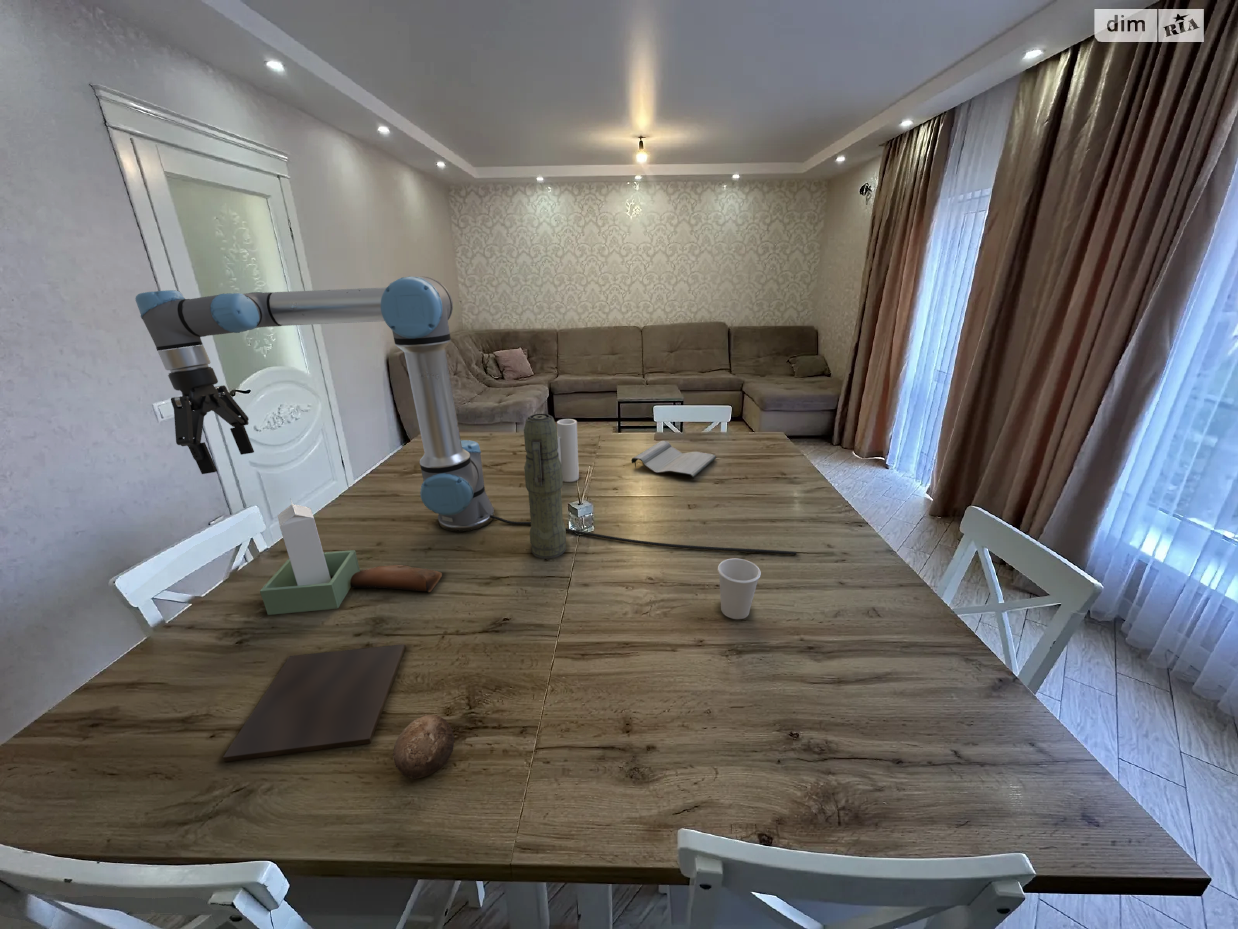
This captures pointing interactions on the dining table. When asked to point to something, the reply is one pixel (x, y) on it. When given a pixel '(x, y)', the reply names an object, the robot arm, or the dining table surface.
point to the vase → (568, 449)
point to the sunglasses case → (396, 578)
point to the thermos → (544, 486)
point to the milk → (303, 545)
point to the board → (320, 703)
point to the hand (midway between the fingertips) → (229, 462)
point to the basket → (310, 586)
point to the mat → (673, 459)
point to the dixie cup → (737, 586)
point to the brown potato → (423, 746)
